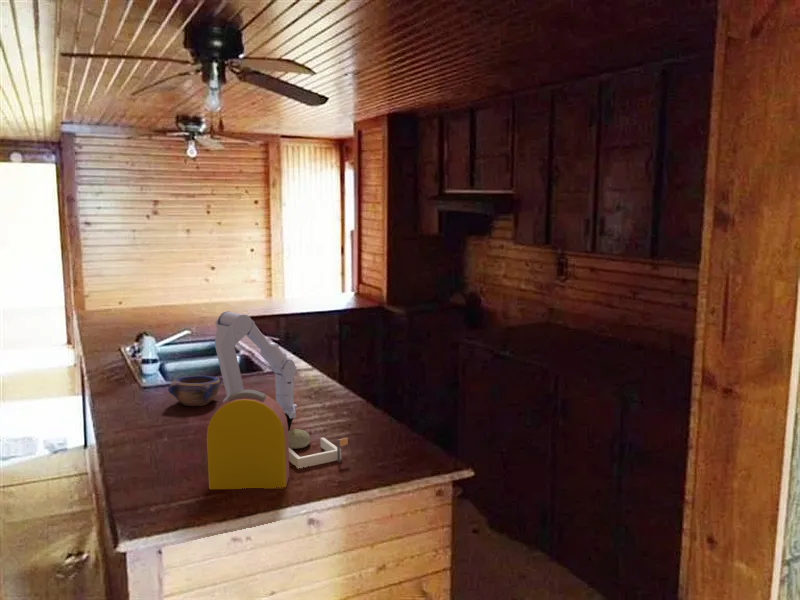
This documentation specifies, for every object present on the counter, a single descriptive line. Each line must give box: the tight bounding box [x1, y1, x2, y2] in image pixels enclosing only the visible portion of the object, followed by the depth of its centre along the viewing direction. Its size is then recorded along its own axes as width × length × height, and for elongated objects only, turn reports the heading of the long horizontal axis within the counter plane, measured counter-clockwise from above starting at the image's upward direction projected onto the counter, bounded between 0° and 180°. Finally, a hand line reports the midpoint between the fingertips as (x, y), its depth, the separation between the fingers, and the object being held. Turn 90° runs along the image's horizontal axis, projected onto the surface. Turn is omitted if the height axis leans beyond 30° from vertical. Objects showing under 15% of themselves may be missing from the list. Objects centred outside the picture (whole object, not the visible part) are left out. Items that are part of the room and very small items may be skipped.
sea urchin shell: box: [288, 428, 311, 450], centre depth 217 cm, size 9×8×8 cm
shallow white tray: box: [289, 437, 349, 470], centre depth 206 cm, size 16×14×7 cm
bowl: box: [167, 375, 222, 407], centre depth 261 cm, size 18×18×10 cm
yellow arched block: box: [206, 388, 290, 490], centre depth 187 cm, size 21×9×26 cm, turn 92°
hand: (285, 433), depth 225 cm, fingers closed
